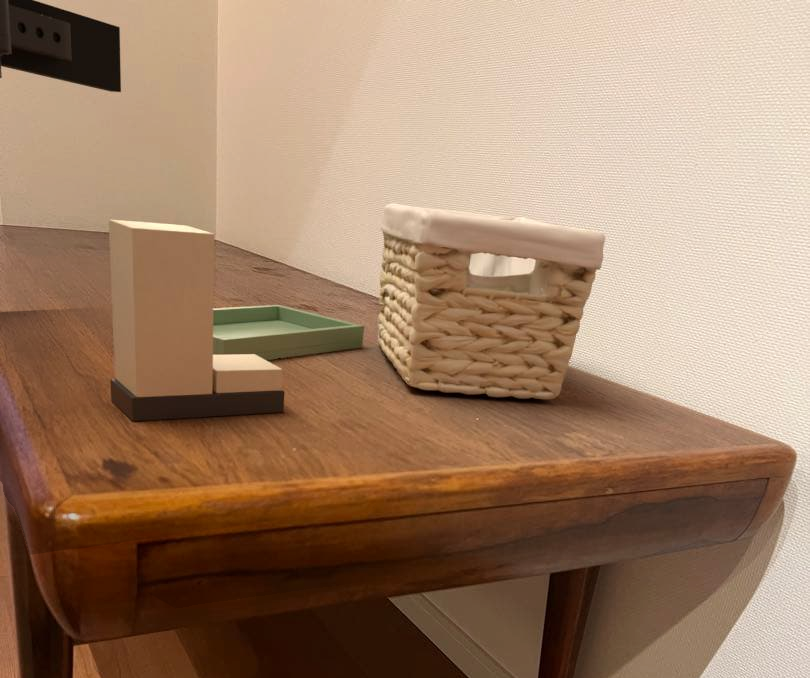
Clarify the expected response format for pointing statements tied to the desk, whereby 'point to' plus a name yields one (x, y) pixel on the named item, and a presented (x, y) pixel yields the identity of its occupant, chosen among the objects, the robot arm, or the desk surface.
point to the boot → (176, 331)
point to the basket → (483, 300)
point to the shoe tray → (280, 332)
